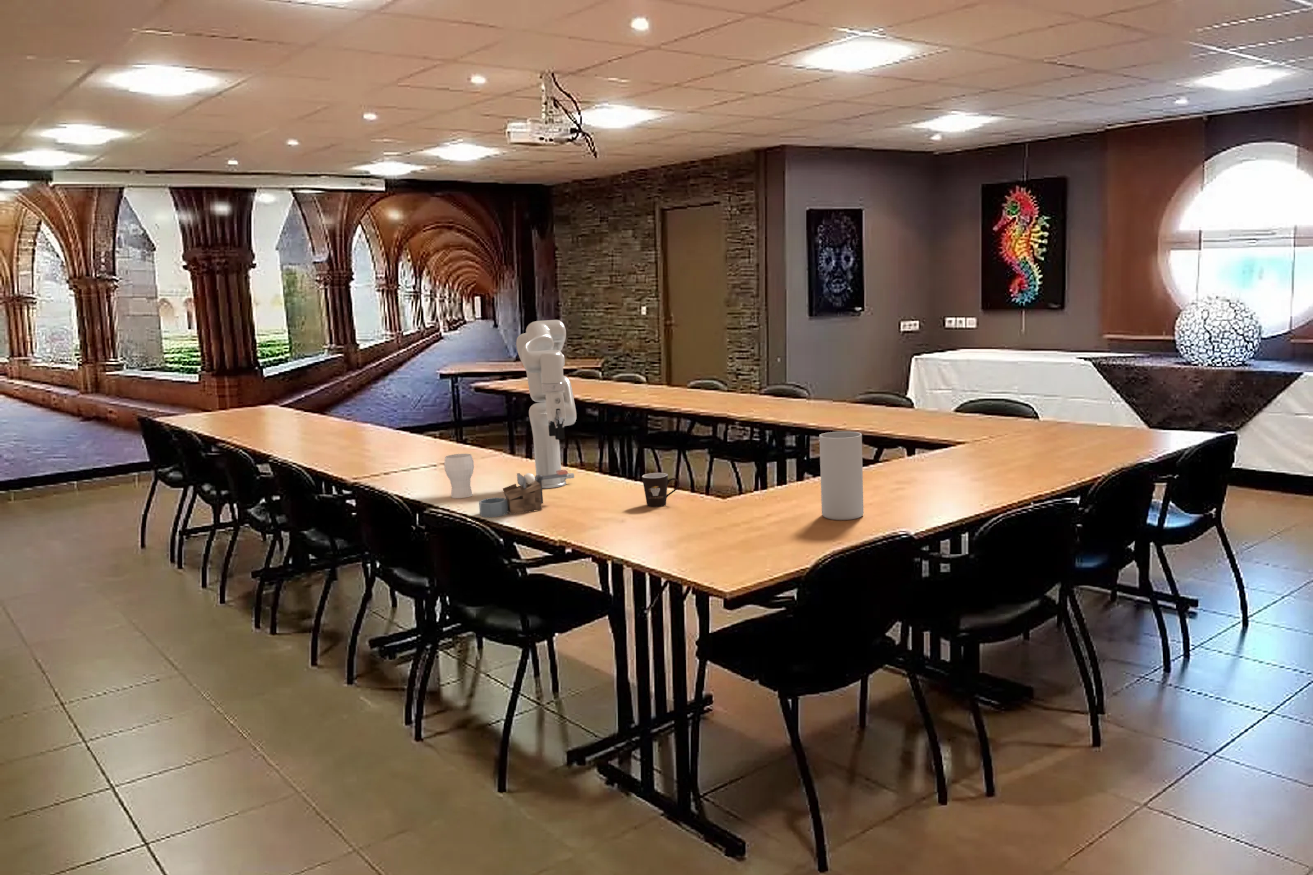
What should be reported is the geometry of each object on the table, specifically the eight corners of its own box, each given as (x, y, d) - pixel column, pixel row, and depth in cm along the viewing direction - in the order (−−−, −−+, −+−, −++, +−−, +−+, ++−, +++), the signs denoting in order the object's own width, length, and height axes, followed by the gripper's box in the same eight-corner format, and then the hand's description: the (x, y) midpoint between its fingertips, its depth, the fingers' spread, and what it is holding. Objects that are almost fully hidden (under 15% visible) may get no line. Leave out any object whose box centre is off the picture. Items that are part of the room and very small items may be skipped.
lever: (565, 476, 343) (565, 467, 343) (573, 482, 333) (573, 472, 333) (517, 482, 338) (516, 472, 337) (523, 488, 328) (522, 478, 327)
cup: (469, 499, 355) (466, 458, 353) (442, 499, 357) (438, 458, 355) (480, 492, 365) (477, 453, 363) (454, 493, 368) (450, 453, 365)
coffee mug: (639, 507, 327) (637, 477, 326) (651, 501, 335) (649, 472, 333) (670, 509, 322) (668, 479, 320) (681, 503, 329) (680, 473, 328)
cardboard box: (542, 502, 343) (540, 474, 341) (550, 509, 332) (548, 480, 330) (501, 507, 338) (499, 479, 337) (508, 514, 327) (506, 485, 326)
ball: (534, 482, 335) (532, 470, 334) (537, 484, 331) (534, 472, 330) (523, 485, 334) (520, 474, 333) (525, 487, 330) (523, 476, 329)
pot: (504, 509, 335) (503, 496, 334) (509, 514, 327) (508, 501, 326) (478, 512, 332) (477, 499, 331) (483, 518, 324) (481, 504, 323)
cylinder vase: (860, 521, 292) (858, 438, 288) (818, 520, 296) (815, 438, 293) (866, 511, 304) (864, 431, 300) (826, 510, 308) (823, 431, 304)
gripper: (569, 389, 330) (573, 439, 332) (558, 385, 346) (561, 433, 348) (548, 391, 327) (551, 441, 330) (537, 387, 344) (541, 435, 346)
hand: (557, 437), depth 339 cm, fingers open, 9 cm apart
